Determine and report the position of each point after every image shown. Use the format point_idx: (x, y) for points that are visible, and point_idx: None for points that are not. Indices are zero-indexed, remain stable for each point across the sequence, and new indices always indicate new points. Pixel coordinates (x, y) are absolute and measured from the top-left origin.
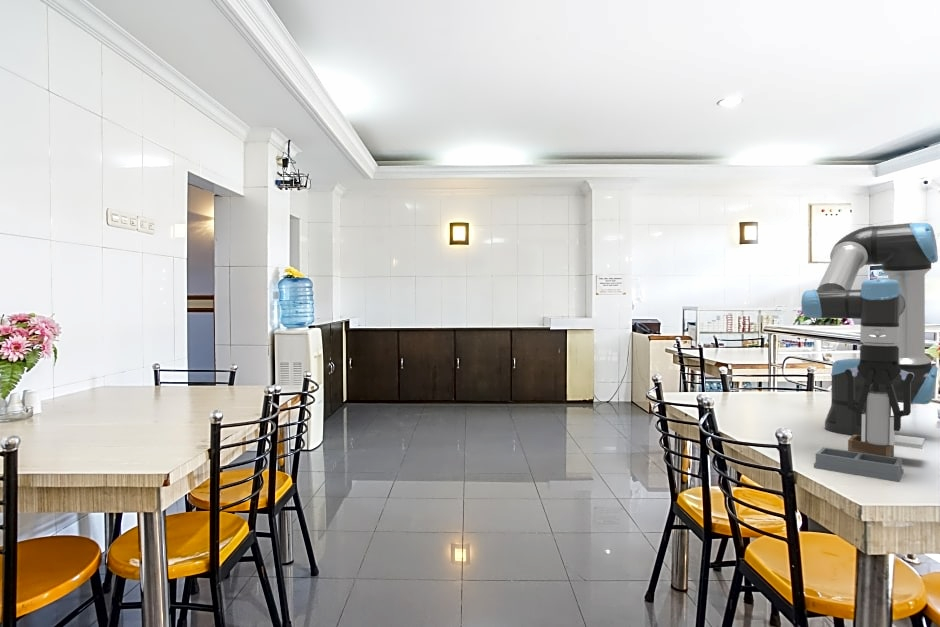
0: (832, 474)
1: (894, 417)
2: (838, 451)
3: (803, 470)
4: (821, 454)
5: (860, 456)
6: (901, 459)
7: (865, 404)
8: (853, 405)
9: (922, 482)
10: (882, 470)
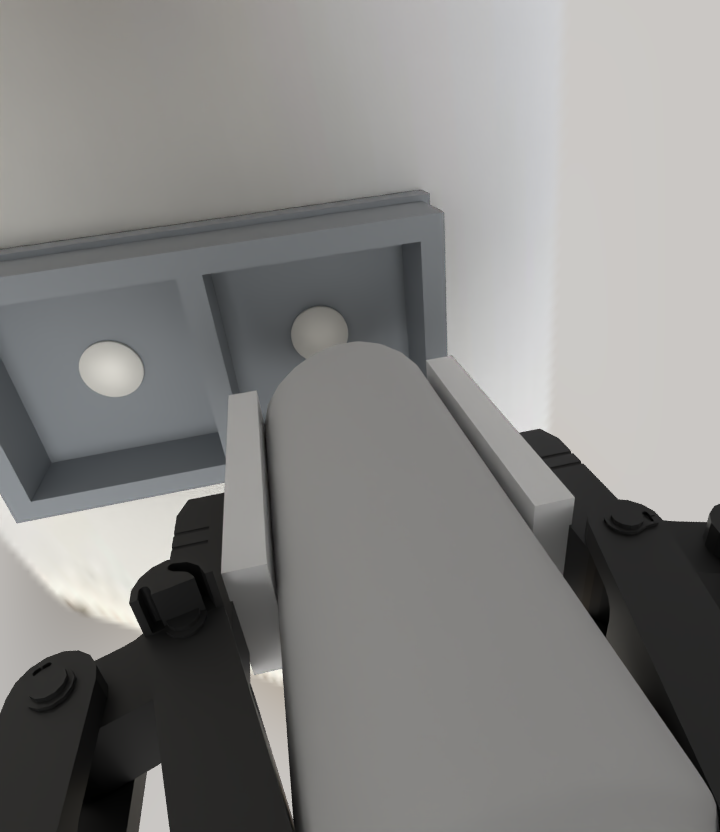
0: (172, 512)
1: (566, 573)
2: (33, 296)
3: (46, 553)
4: (52, 515)
5: (224, 361)
6: (444, 244)
7: (250, 692)
8: (136, 792)
9: (514, 320)
10: None
